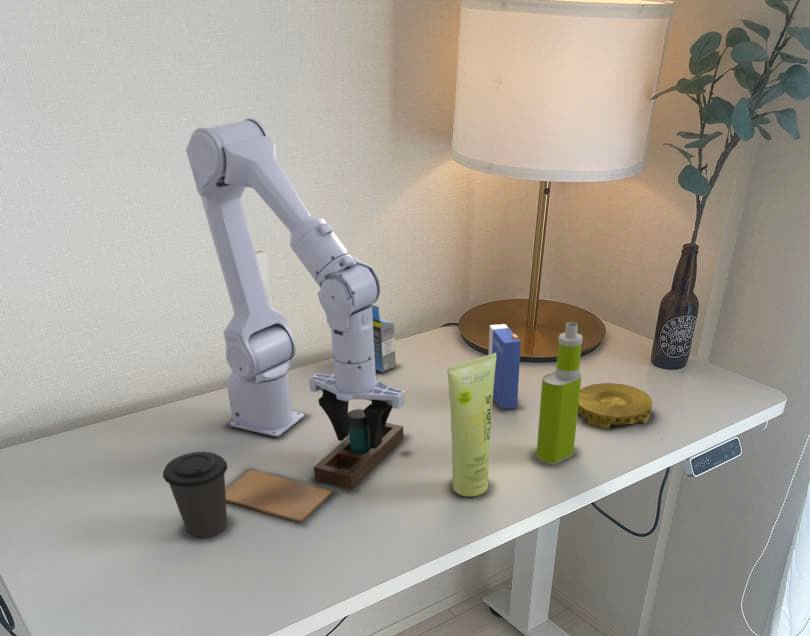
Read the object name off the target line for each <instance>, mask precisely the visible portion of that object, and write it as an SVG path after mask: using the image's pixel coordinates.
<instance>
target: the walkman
mask: <svg viewBox="0 0 810 636" xmlns="http://www.w3.org/2000/svg"><path fill="white" fill-rule="evenodd" d="M488 335H489V336H488V355H491V354H493V353H496V366H495V376H494V388H493V401H494V402H495V403H496V404H497V405H498V407H499V408H500V410H509V409H516V408H518V400H519V399H518V398H519V396H518V395H519V381H520V380H519V378H520V365H521V364H520V362H521V347H522V341H521V339H519V337H518V335H517V334H516V333H514V332H513V330H511V328H510V327H508V326H507V324H506V323H502V324H501V323H500V324H490V325H489V334H488Z"/></svg>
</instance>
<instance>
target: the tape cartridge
mask: <svg viewBox="0 0 810 636" xmlns="http://www.w3.org/2000/svg"><path fill="white" fill-rule="evenodd" d="M371 306H372V317H373V337H374V357H375V371H378V372H380V373H385V372H387V371H389V370H392V369H394V368H395V367H396V366H397V365H396V364H397V360H396V359H397V358H396V337H395V336H396V335H395V334H396V333H395V323H394V322H392V321H388V320H386V319H385V320H384V319H382V318H380V309H379V306H376V305H374V304H372V305H371ZM371 306H369V307H371Z"/></svg>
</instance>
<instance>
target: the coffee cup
mask: <svg viewBox="0 0 810 636" xmlns="http://www.w3.org/2000/svg"><path fill="white" fill-rule="evenodd" d="M227 470H228V463H227V461H226V460H225V459H224V458H223V457H222V456H221V455H219V454H217V453H214V452H209V451H193V452H189V453H184V454H181V455H179V456H177V457H175V458H173V459H172V460H170V461H169V462H168V463H167V464H166V466H165V467H164V469H163V472H162V478H163V479H164V481H165V482H166V483H168V485H169V487H170V490H171V493H172V495H173V498H174V501H175V503H176V506H177V508H178V511H179V513H180V516H181V519H182V522H183V525H184V527H185V529H186V532H187V534H188V535H189V536H191V537H193V538H196V539H209V538H213V537H216V536H218V535H220V534H222V533H223V532H224V531H225V530H226V529H227V527H228V516H227V515H228V513H227V501H226V493H225V490H226V478H225V477H226V476H225V474H226V472H227Z"/></svg>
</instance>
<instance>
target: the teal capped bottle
mask: <svg viewBox="0 0 810 636" xmlns="http://www.w3.org/2000/svg"><path fill="white" fill-rule="evenodd" d="M348 428H349V435H348V436H349V441H350V451H352V452H356V453H360V454H364V455H365V454H366V453H367V452H368V451H369V450H370V435H369V427H368V422H367V419H366V416H365V414H364V409H361V408H357V409H356V408H355V409H352V410H350V411H348Z"/></svg>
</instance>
